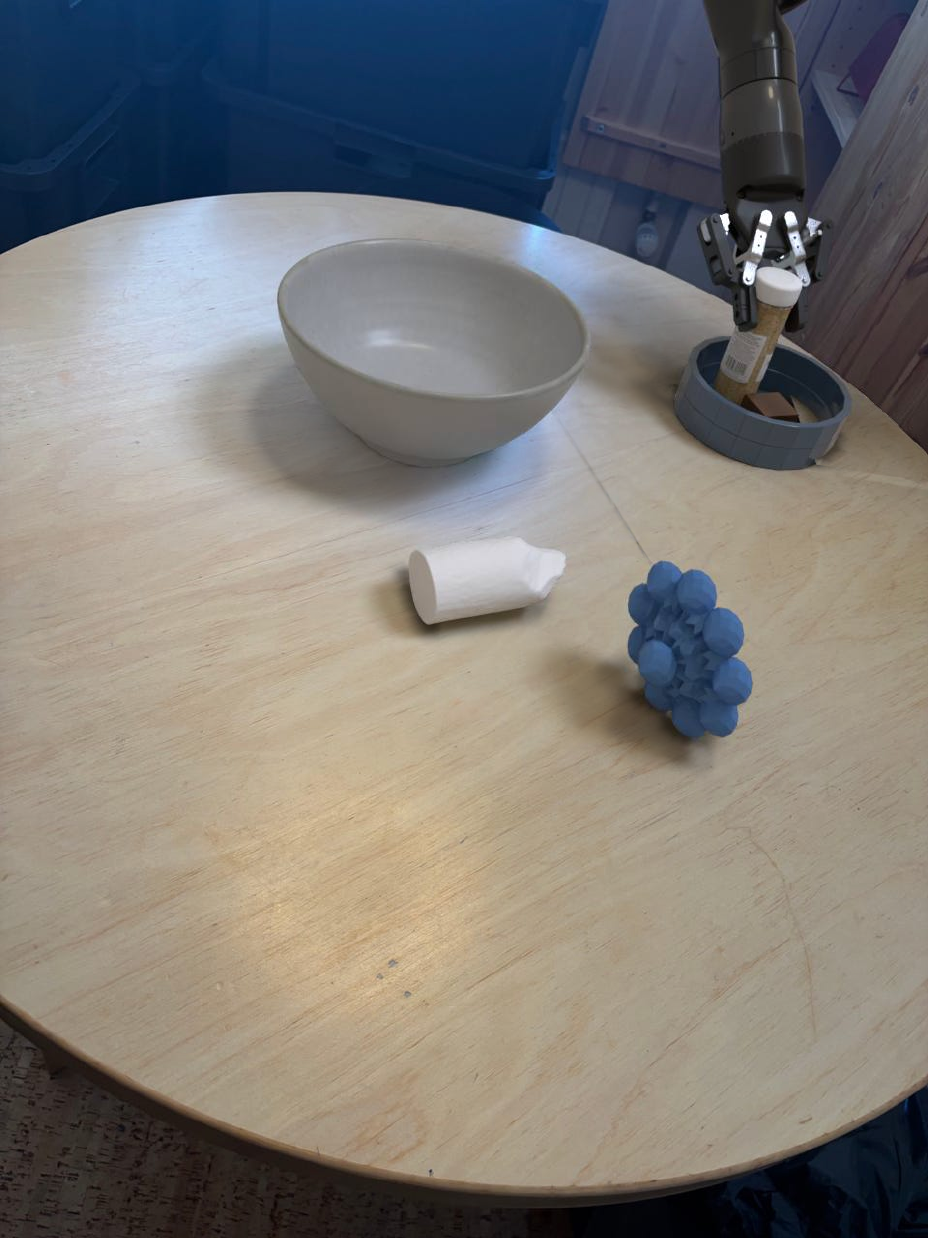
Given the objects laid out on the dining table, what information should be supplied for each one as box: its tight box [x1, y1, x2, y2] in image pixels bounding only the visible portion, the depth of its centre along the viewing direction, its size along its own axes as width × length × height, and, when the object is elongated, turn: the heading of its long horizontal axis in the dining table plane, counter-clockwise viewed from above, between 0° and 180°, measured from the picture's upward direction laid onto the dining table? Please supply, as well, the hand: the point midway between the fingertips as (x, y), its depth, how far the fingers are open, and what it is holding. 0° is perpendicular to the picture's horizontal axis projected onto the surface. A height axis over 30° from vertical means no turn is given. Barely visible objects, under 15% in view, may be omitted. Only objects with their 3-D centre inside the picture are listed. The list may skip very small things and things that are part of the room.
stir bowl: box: [672, 335, 853, 471], centre depth 97 cm, size 17×17×6 cm
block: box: [740, 392, 800, 423], centre depth 95 cm, size 4×4×4 cm
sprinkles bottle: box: [712, 266, 802, 406], centre depth 93 cm, size 5×5×14 cm
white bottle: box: [408, 535, 567, 625], centre depth 72 cm, size 6×12×6 cm, turn 111°
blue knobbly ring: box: [627, 560, 754, 740], centre depth 64 cm, size 12×7×12 cm, turn 33°
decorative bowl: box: [276, 237, 592, 468], centre depth 85 cm, size 27×27×12 cm
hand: (772, 329), depth 90 cm, fingers closed on sprinkles bottle, 4 cm apart
